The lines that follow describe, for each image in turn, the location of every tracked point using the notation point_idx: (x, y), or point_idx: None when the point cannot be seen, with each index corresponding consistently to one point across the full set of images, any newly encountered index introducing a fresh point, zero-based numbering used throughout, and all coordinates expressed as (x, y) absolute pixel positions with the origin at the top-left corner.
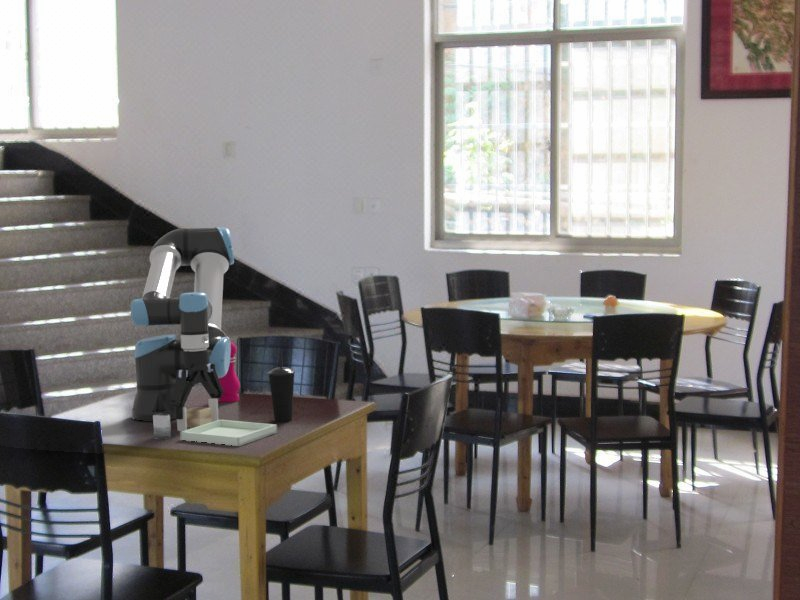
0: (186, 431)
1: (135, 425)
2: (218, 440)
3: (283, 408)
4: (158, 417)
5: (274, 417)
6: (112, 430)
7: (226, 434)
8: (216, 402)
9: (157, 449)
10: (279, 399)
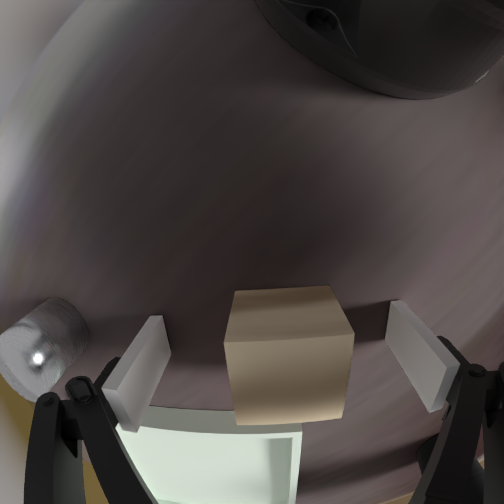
0: None
1: (165, 20)
2: None
3: None
4: (3, 373)
5: (431, 445)
6: (59, 42)
7: (194, 472)
8: (422, 398)
9: None
10: None
